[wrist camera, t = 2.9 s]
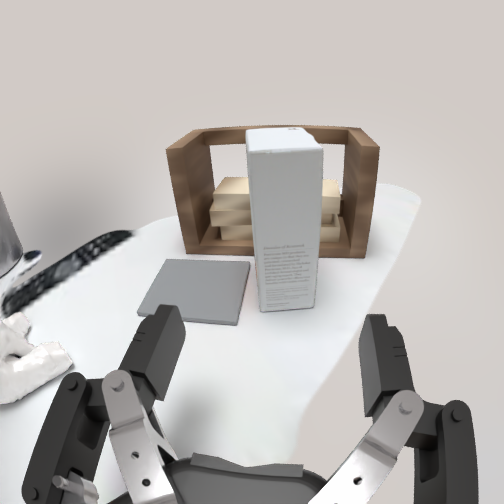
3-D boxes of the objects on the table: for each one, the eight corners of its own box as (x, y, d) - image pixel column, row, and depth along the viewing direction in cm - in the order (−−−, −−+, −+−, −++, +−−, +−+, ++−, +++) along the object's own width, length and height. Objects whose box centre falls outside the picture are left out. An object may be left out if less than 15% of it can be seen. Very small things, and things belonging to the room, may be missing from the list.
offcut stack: (210, 242, 28) (203, 196, 25) (222, 217, 32) (216, 175, 29) (339, 245, 26) (344, 197, 23) (333, 218, 30) (336, 176, 27)
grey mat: (138, 315, 22) (136, 311, 21) (167, 262, 27) (166, 258, 27) (236, 325, 20) (236, 321, 20) (250, 265, 26) (249, 261, 26)
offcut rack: (186, 253, 28) (165, 149, 22) (206, 216, 34) (193, 129, 28) (364, 258, 26) (379, 146, 20) (352, 219, 32) (359, 128, 26)
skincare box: (254, 264, 26) (244, 128, 19) (302, 261, 26) (304, 125, 19) (258, 314, 21) (245, 150, 14) (315, 309, 21) (327, 146, 14)
